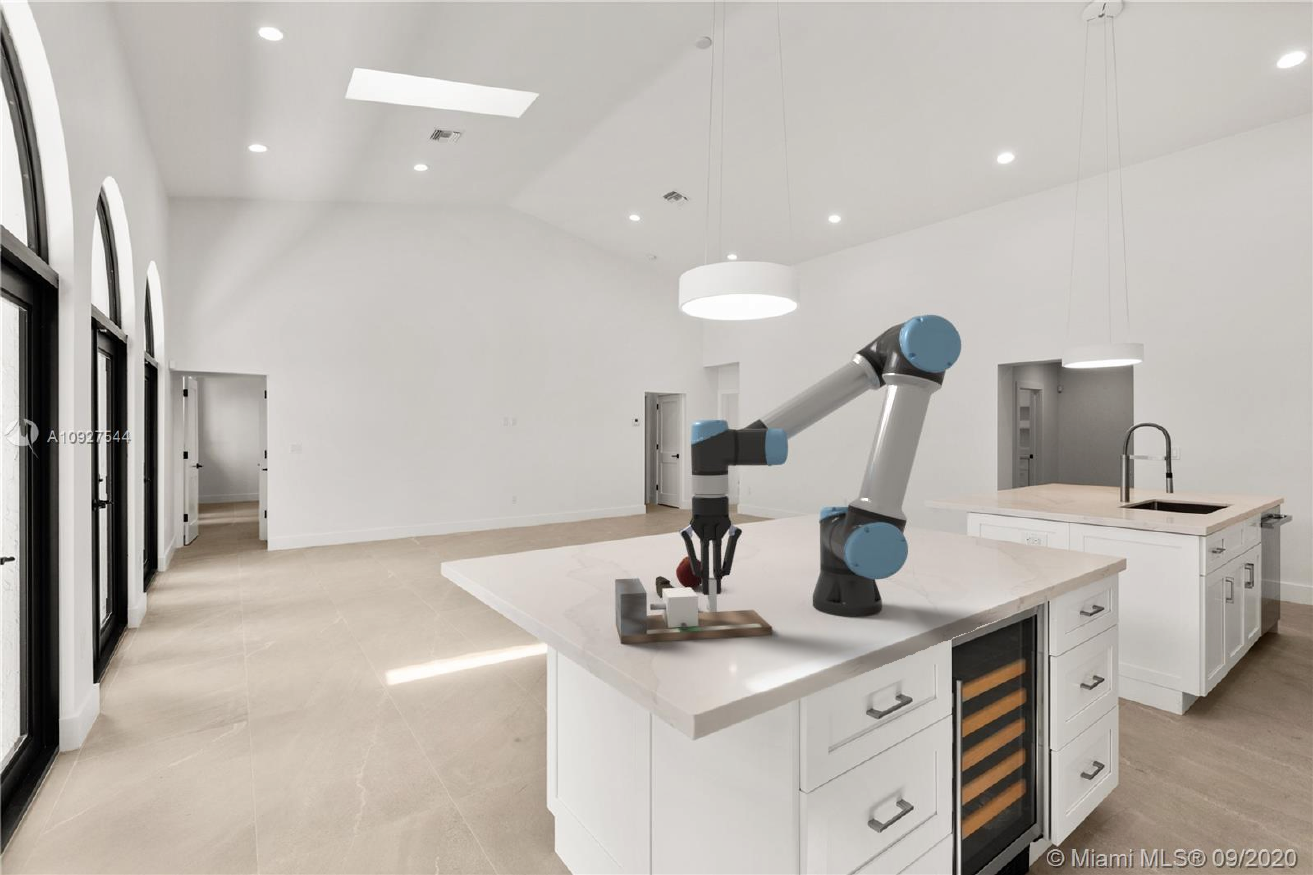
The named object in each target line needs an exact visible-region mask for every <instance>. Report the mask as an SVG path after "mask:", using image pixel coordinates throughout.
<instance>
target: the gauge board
mask: <svg viewBox="0 0 1313 875" xmlns="http://www.w3.org/2000/svg"><path fill="white" fill-rule="evenodd" d="M614 583H615V585H614V593H615V595H614V597H615V600H614V601H615V604H614V605H615V607H614V608H615V628H616V632H617V634H618V637H619V641H620V644H621V645H622V644H637V643H639V644H640V643H652V642H656V643H657V642H670V641H686V640H689V641H690V640H704V639H717V638H720V639H723V638H734V637H735V638H737V637H750V636H753V637H754V636H755V637H756V636H767V635H769V636H770V635H772V633H773V626H771V625H770V624H769V623H768V622H767V621H766V620H765V619H764V618H763V617H762V616H760V615H759V614H758V613H757V611H755V610H754V609H746V610H745V609H743V610H724V611H723V610H722V611H717V612H709V611H708V612H707V611H705V612H698V626H692V627H688V629H683V627H675V628H668V626H667V624H666V623H665V621H664V619H663V614H651V615H648V612H647V611H648V608H647V607H648V605H647V604H648V603H647V602H648V601H647V600H648V599H647V596H648V594H647V590H646V589H645V587H644V585H643V584H642V581H641V580H640V578H637V577H636V578H635V577H633V578H617V579H615V580H614Z"/></svg>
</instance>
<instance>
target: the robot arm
mask: <svg viewBox="0 0 1313 875" xmlns="http://www.w3.org/2000/svg"><path fill="white" fill-rule="evenodd" d="M961 350H962V340H961V335H960V333H959V331H958V330H957V329H956V327H955V326H954V324H953V323H952V322H951V321H949V320H948V319H946V318H945V317H943V316H940V315H937V314H924V315H917V316H913V317H911V318H910V319H909V318H908V320H907V321H904V322H903V323H899V324H897V325H894V326H891V327H890V328H888V329H887V330H884V331H883V332H882V333H881V334H880V335H878V336H876V338H875V339H874V340H872V341H871V342H869V344H868V343H867V345H865V346H864V347H863V348H861V349H860V350H858V351H856V352H855V353H854V354H852V356H851V360H850V361H849V362H848V363H846V364H845V365H842V366H841V367H839V368H838V369H836V370H834V371H833V372H832V373H830V374H829V375H827V376H825V377H824V378H822V379H820V380H819V381H817V382H815V383H814V384H811V386H809V387H808V388H806V389H804V390H803V391H801V392H799V393H798V394H796V395H795V396H794V397H792V398H790V399H788V400H787V401H786V402H784V403H782V404H781V405H778V406H777V407H776V408H774V409H773V410H771V411H770V412H767V413H766V414H764V415H763V416H761V417H760V418H758V419H757V420H755V421H754V422H752V423H750V424H748V425H747V426H746V427H743V428H739V429H736V428H735V429H732V428H730V427H729V424H728V421H727V420H725V419H704V420H703V419H701V420H700V419H699V420H694V422H693V423H692V424H691V435H690V438H691V439H690V457H691V458H690V459H691V460H690V463H691V494H693V495H694V496H692V498H691V519H690V521H689V524H688V526H686V527H685V528H683V529H680V530H679V534H680V537H681V538H682V539H683V541H684V545H685V550H686V552H687V557H689V561H690V565H691V569H692V572H693V574H694V575H695V576H696V577H700V578H701V580H702V584H701V593H702V594H703V596H706V598H705V599H706V609H707V611H708V612H718V606H717V605H718V602H717V595H721V594H722V580H723V577H725V576H730V574H731V570H732V566H733V562H734V557H735V552H736V549H737V548H736V547H737V543H738V540H739V539H740V536H741V535H742V533H743V531H742V529H741V528H739V527H738V526H735V525H733V524H732V520H731V519H730V510H729V508H730V507H729V505H730V503H729V500H730V498H729V497H728V496H727V495H728V494H729V490H730V488H729V466H730V467H736V466H744V467H745V466H747V467H748V466H751V467H752V466H755V467H756V466H768V467H771V466H781V465H783V464H786V462H787V459H788V455H789V442H788V441H789V440H790V439H791V438H793V437H795V436H796V435H798V434H800V433H802V431H804V430H807V428H809V427H812V425H815V423H818V422H819V421H821V420H822V419H824V418H825V417H827V416H829V415H830V414H832V413H834V412H835V411H837V410H839V409H840V408H842V407H843V406H845V405H846V404H848V403H850V402H852V400H855V399H856V398H858V397H859V396H861V395H862V394H865V393H866V392H867V391H869V390H871V391H872V390H873V391H878V390H879V389H881V388H882V387H884V386H886V390H885V395H884V398H883V401H882V406H881V410H880V413H879V416H878V421H877V425H876V427H875V428H876V430H875V433H874V436H873V439H872V444H871V447H870V453H869V455H868V459H867V463H866V467H865V470H864V475H863V478H862V479H863V480H862V483H861V486H860V490H859V493H858V497H857V498H856V499H854V500H852V501H850V502H849V503H848V505H847V506H825V507H822V508H821V510H820V512H819V513H820V514H819V519H818V520H819V521H818V523H819V558H820V559H819V564H820V565H819V568H820V569H819V574H818V575H819V576H818V578H817V582H816V583H815V587H814V590H813V593H812V607H813V608H815V609H816V610H818V611H820V612H823V613H826V614H829V615H830V614H831V615H837V616H844V617H868V616H869V617H870V616H874V615H877V614H880V613H881V612H882V611H883V598H882V596H881V593H880V590H879V587H878V584H877V582H876V580H883V579H887V578H889V577H891V576H893V575H895V574H896V573H898V572H899V571H901V569H902V568H903V566H904V565H905V562H906V561H907V558H908V555H909V554H908V553H909V545H908V541H907V538H906V536H905V534H904V532H905V528H906V524H907V522H908V518H907V516H906V514H905V513H904V511H903V507H902V506H903V504H904V500H905V496H906V493H907V489H908V484H909V480H910V477H911V472H912V470H913V465H914V461H915V458H916V453H917V449H918V446H919V442H920V438H921V434H922V432H923V431H922V430H923V428H924V427H923V426H924V422H925V419H926V415H927V411H928V408H929V404H930V401H931V397H932V395H933V394H934V393H936V392H937V391H940V390H941V389H942V385H943V382H944V380H945V379H944V378H945V375H946V371H947V370H949V369H950V368H951V367H953V366H954V365H955V363H956V362H957V361H958V359H959V357H960V355H961V353H962V351H961ZM693 532H694V534H695V535H696V536H697V537H698V539H699V543H700V561H701V570H700V569H699V565H698V561H697V559H698V558H697V554H696V550H695V547H694V543H693V542H694V541H693V540H692V538H693ZM727 532H728V535H729V536H728V538H727V542H726V548H725V552H724V556H723V560H722V545H723V544H722V543H723V538H724V537H725V535H726V534H727ZM710 542H711V543H712V574H713V576H710V545H711V544H710Z"/></svg>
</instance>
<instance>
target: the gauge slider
mask: <svg viewBox="0 0 1313 875" xmlns="http://www.w3.org/2000/svg"><path fill="white" fill-rule="evenodd" d="M661 599H662V602H661V603H660V602H659V603H650V606H649V607H650V611H656V610H657V611H659V610H662V615H663V619H664V621H665V623H666V624H667V626H668V628H675V627H683V629H688V627H692V626H698V613H699V596H698V595H697V593H696V592H695V590H693V588H691V587H687V588H686V587H675V588H666V589H662V598H661Z"/></svg>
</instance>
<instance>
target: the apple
mask: <svg viewBox="0 0 1313 875" xmlns="http://www.w3.org/2000/svg"><path fill="white" fill-rule="evenodd" d="M697 561H698V565H699V569H700V570H701V560H700V559H698V558H697ZM675 570H676V571H675V575H676V578H677V581H678V582H679V583H680V585H682V587H683V588H687V587H691V588H692V589H694V588H697V587H700V586H702V580H701V578H700V577H696V576H695V575H694V574H693V572H692V569H691V565H690V561H689V557H688V556H685V557H683V559H682V560H681V561H680V563H679V564H678V566H677V567H676V569H675Z"/></svg>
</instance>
